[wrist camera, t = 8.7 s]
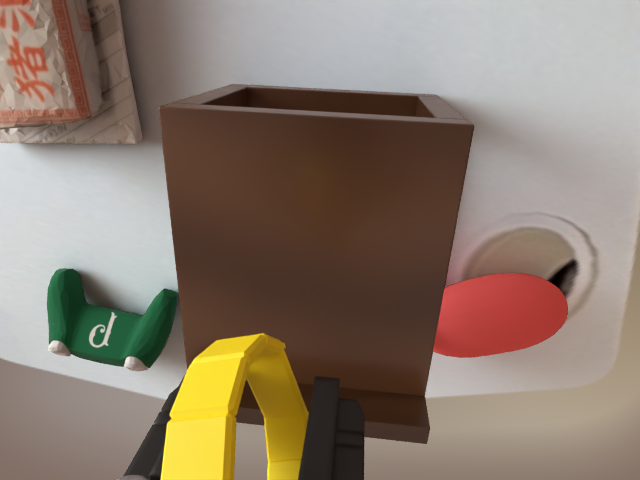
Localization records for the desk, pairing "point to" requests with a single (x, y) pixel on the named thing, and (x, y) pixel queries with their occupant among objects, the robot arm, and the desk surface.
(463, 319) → the red kidney bean
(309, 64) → the desk surface
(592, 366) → the desk surface
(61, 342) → the gaming controller
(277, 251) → the box
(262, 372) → the watch
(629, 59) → the desk surface
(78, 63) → the packaged product
